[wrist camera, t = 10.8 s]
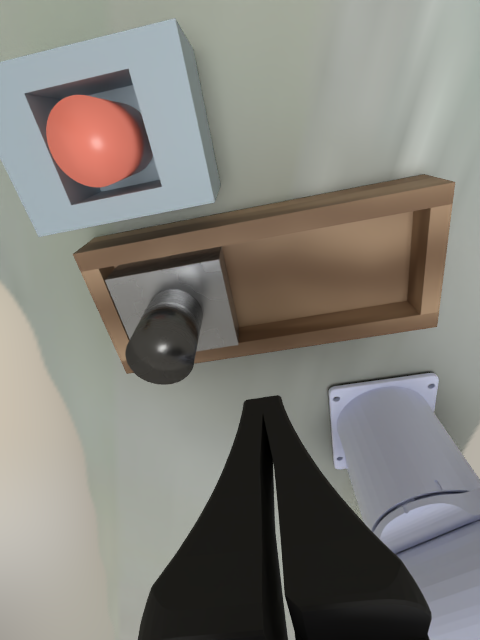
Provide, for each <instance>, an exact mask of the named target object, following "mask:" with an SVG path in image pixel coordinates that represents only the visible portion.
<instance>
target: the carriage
mask: <svg viewBox="0 0 480 640" xmlns="http://www.w3.org/2000/svg"><path fill="white" fill-rule="evenodd" d="M105 282H106V284H107V286H108V289H109V291H110V294H111V296H112V298H113V301H114V303H115V306H116V308H117V310H118V313H119V315H120V318H121V320H122V322H123V325H124V327H125V329H126V332H127V334H128V337H129V339H130V340H129V342H128V344H127V347H126V351H125V356H126V361H127V363H128V365H129V367H130V368H131V370H132V371H133V372H134V373H135V374H136V375H137V376H139V377H140V378H142V379H144V380H146V381H148V382H151V383H155V384H173V383H176V382H179V381H181V380H183V379H184V378H185V377H187V376H188V375H189V373H190V372H191V370H192V368H193V365H194V360H195V355H196V351H202V350H209V349H215V348H222V347H228V346H235V345H238V332H239V323H238V319H237V314H236V310H235V305H234V300H233V296H232V291H231V287H230V282H229V278H228V273H227V268H226V264H225V259H224V255H223V250H222V246H220V247H215V248H209V249H204V250H198V251H193V252H187V253H182V254H176V255H171V256H166V257H160V258H155V259H149V260H144V261H138V262H133V263H127V264H122V265H118V266H117V267H116V268H115V269H114V270H113V271H112V273H111V274H110V275H109V276H108V277H107V278H106V279H105Z"/></svg>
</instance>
